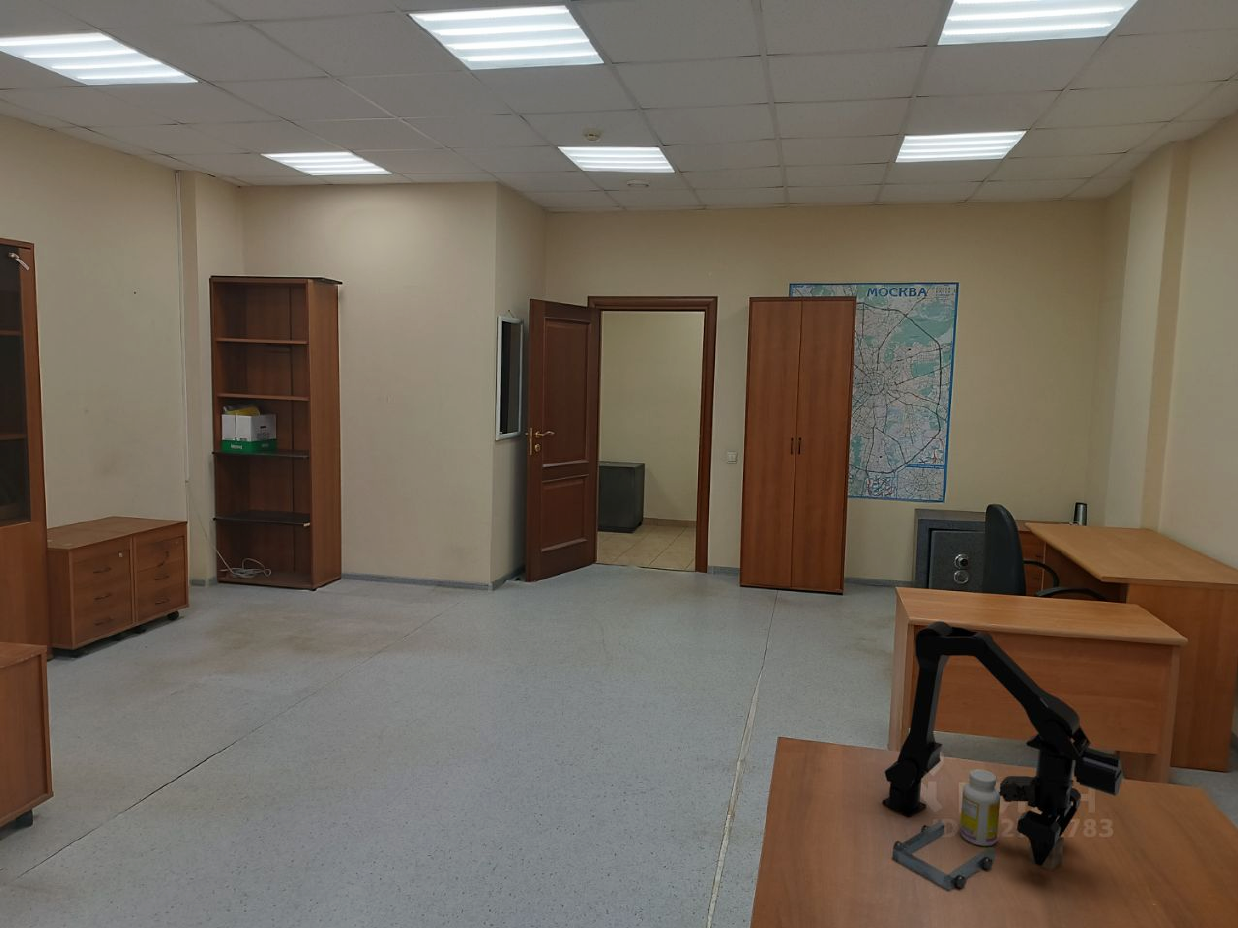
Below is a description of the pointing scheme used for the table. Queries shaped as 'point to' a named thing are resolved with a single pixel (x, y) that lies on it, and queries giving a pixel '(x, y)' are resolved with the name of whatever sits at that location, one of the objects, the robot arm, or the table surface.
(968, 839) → the supplement bottle
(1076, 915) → the table surface
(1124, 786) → the table surface
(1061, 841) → the brown block
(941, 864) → the table surface
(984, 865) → the grey metal u-shaped frame
